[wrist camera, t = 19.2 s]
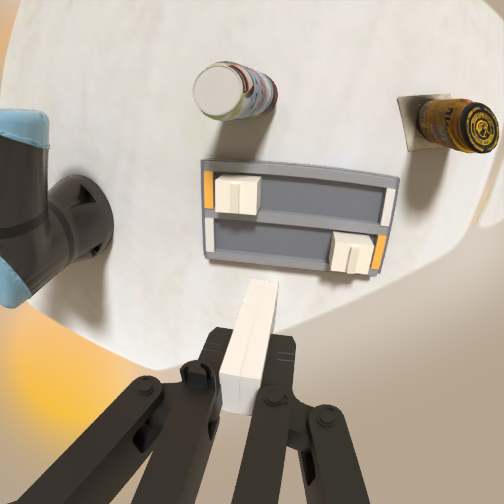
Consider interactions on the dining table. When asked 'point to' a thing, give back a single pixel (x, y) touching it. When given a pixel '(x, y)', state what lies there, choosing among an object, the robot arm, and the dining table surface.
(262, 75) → the beverage can
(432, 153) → the dining table surface
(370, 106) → the dining table surface
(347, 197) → the switch bank
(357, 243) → the tab
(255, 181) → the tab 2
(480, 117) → the condiment
